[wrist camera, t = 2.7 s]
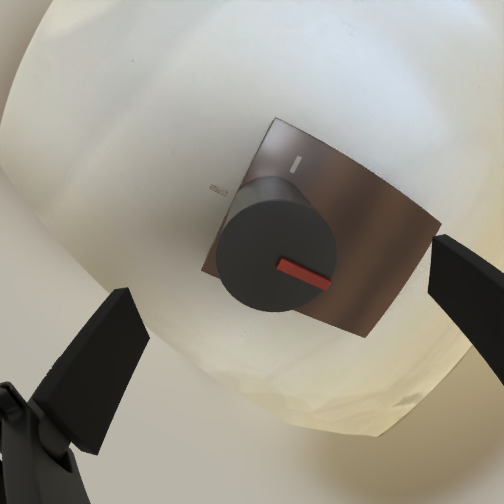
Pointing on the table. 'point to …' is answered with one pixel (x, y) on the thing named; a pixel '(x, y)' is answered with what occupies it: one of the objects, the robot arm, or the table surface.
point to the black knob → (275, 247)
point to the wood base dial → (346, 226)
